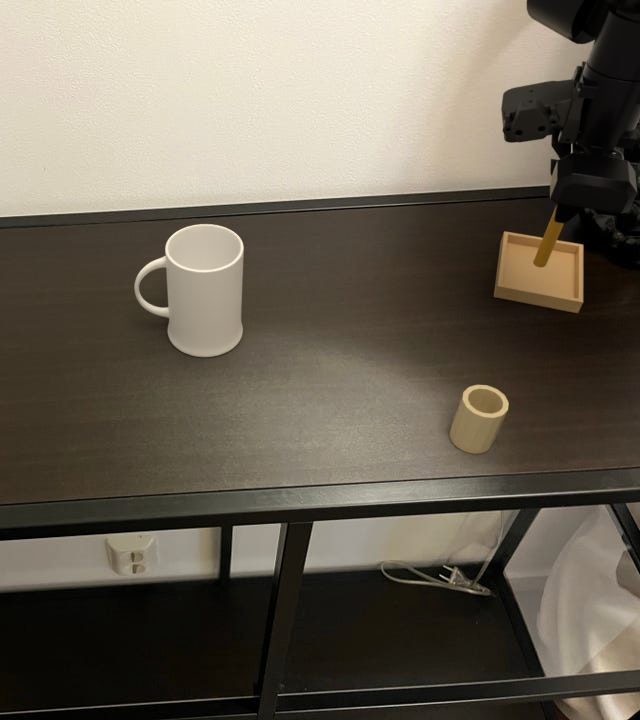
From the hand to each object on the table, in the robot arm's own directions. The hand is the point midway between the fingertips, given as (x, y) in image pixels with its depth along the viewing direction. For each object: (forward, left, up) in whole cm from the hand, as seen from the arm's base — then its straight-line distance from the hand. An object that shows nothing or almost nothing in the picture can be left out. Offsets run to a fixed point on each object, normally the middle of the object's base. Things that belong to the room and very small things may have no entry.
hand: (559, 217), depth 75 cm
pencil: (0, 0, -6) cm, 6 cm away
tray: (-2, -8, -13) cm, 15 cm away
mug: (+34, +14, -14) cm, 40 cm away
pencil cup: (+3, +20, -13) cm, 24 cm away
